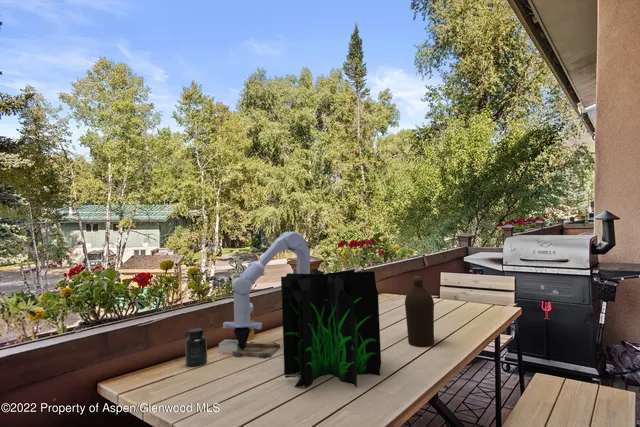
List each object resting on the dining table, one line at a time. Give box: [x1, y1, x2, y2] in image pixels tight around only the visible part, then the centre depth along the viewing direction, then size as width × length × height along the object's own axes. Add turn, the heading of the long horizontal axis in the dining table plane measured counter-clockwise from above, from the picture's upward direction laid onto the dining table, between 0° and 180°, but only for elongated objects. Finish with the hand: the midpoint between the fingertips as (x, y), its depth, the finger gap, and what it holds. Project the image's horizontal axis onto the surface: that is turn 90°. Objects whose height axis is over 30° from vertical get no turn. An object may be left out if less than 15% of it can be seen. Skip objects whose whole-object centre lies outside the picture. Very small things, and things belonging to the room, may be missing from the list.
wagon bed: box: [231, 341, 281, 359], centre depth 134 cm, size 14×12×3 cm
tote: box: [218, 339, 243, 354], centre depth 137 cm, size 7×5×3 cm
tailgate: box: [220, 349, 244, 356], centre depth 136 cm, size 1×8×6 cm
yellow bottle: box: [247, 302, 255, 342], centre depth 152 cm, size 6×6×15 cm
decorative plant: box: [280, 269, 382, 389], centre depth 117 cm, size 29×30×30 cm
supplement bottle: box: [184, 327, 208, 368], centre depth 125 cm, size 7×7×12 cm
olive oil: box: [404, 275, 435, 348], centre depth 141 cm, size 11×11×25 cm
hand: (243, 348), depth 135 cm, fingers closed
